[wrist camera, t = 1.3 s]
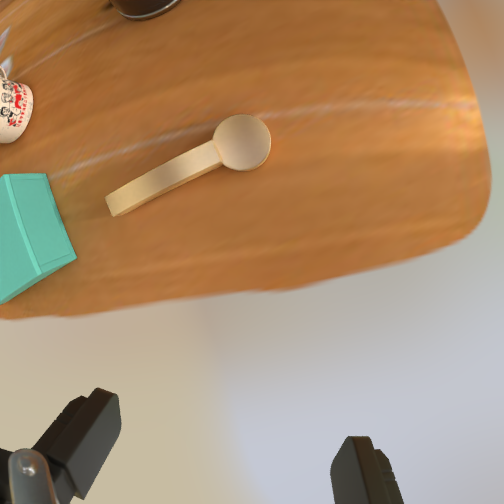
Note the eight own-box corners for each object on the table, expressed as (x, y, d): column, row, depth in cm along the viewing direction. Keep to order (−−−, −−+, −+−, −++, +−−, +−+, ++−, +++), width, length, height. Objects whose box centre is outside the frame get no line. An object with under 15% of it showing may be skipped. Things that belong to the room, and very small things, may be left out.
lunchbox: (9, 300, 34) (-20, 315, 27) (-17, 231, 32) (-47, 239, 25) (77, 258, 32) (42, 273, 25) (46, 173, 30) (8, 173, 23)
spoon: (131, 227, 30) (118, 231, 28) (112, 182, 30) (98, 182, 27) (279, 158, 28) (280, 155, 25) (257, 110, 27) (256, 102, 24)
